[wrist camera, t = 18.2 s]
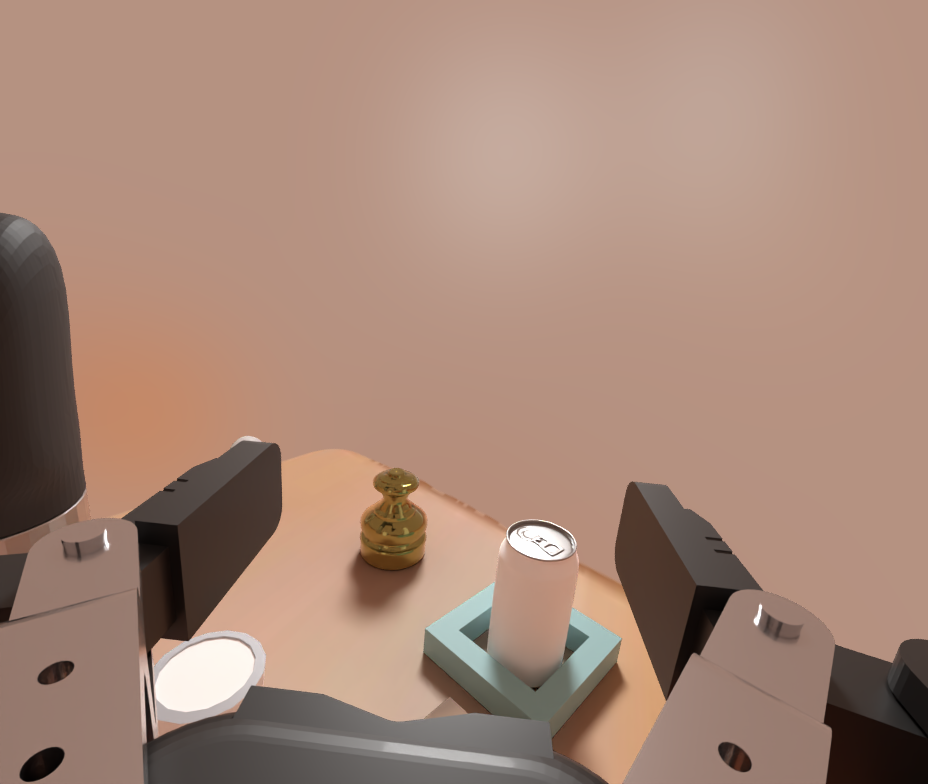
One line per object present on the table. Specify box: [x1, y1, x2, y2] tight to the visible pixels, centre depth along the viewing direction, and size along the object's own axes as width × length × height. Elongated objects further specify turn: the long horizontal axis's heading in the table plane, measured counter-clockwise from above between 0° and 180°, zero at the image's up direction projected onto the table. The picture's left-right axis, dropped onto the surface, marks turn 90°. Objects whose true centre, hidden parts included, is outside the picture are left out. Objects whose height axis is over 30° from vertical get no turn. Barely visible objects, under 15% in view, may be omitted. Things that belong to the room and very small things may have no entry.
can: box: [487, 520, 579, 688], centre depth 40 cm, size 6×6×12 cm
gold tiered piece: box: [360, 468, 428, 570], centre depth 54 cm, size 7×7×10 cm
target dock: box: [423, 582, 622, 739], centre depth 42 cm, size 12×12×2 cm
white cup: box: [154, 631, 266, 736], centre depth 31 cm, size 7×7×7 cm
